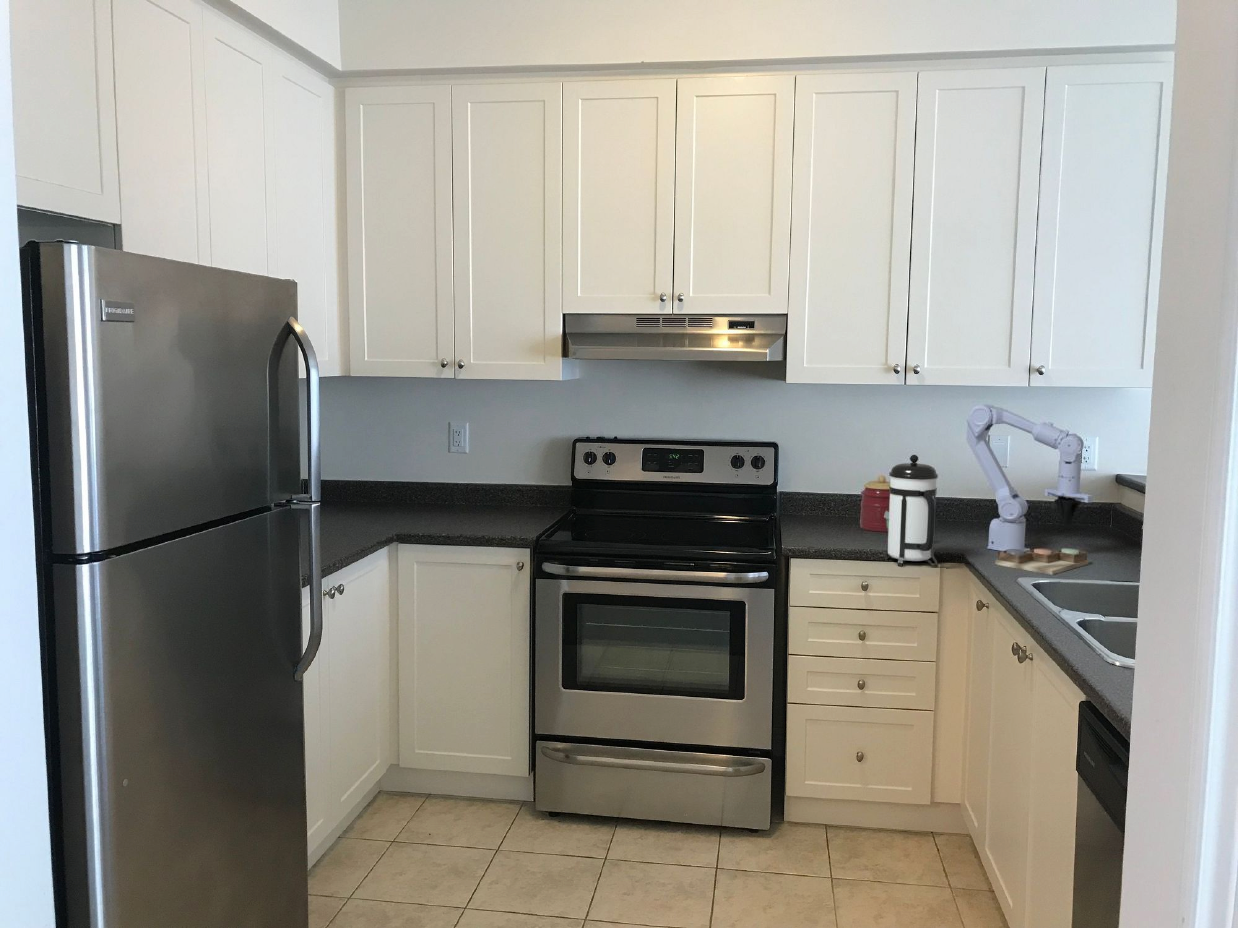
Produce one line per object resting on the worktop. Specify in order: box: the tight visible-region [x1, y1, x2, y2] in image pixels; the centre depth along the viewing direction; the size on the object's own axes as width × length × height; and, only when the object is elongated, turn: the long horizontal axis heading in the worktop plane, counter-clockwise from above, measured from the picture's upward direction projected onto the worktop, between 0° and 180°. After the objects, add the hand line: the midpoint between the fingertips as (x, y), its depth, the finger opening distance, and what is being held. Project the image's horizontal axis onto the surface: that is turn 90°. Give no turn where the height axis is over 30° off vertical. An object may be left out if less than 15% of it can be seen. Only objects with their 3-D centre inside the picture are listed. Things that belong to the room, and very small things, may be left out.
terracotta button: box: [1033, 548, 1053, 555], centre depth 266 cm, size 4×4×3 cm
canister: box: [859, 475, 891, 533], centre depth 318 cm, size 13×13×18 cm
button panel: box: [994, 548, 1090, 576], centre depth 266 cm, size 16×21×3 cm
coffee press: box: [883, 454, 939, 568], centre depth 265 cm, size 17×16×30 cm
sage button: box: [1060, 547, 1080, 554], centre depth 267 cm, size 4×4×3 cm
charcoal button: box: [1007, 549, 1024, 555], centre depth 266 cm, size 4×4×3 cm
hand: (1066, 524), depth 276 cm, fingers closed
